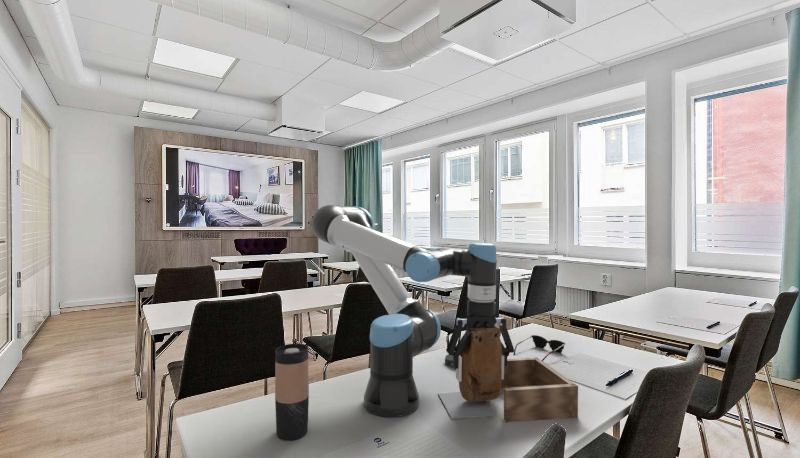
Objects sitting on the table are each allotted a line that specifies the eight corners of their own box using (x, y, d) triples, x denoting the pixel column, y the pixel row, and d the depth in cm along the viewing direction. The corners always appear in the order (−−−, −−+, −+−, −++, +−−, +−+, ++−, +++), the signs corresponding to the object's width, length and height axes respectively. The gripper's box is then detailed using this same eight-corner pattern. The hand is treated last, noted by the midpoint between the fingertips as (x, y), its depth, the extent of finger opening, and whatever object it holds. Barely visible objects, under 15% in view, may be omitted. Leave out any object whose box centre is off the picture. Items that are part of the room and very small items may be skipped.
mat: (451, 419, 98) (451, 417, 98) (438, 394, 111) (438, 393, 111) (496, 415, 99) (496, 414, 99) (478, 392, 113) (478, 390, 113)
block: (487, 388, 112) (489, 320, 111) (503, 400, 105) (505, 327, 104) (454, 394, 108) (456, 323, 107) (469, 406, 101) (471, 330, 100)
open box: (506, 422, 96) (506, 390, 96) (477, 386, 117) (477, 360, 117) (577, 417, 99) (578, 386, 99) (537, 383, 120) (537, 357, 119)
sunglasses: (565, 355, 146) (565, 342, 146) (544, 368, 135) (543, 354, 135) (532, 346, 156) (532, 334, 156) (510, 357, 146) (509, 344, 146)
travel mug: (311, 423, 95) (311, 343, 95) (305, 441, 88) (304, 353, 87) (280, 424, 95) (280, 343, 95) (271, 441, 88) (270, 354, 87)
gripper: (443, 303, 100) (441, 386, 101) (528, 301, 104) (526, 382, 104) (435, 297, 107) (434, 375, 108) (516, 296, 111) (514, 371, 112)
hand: (479, 378), depth 106 cm, fingers closed on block, 11 cm apart
